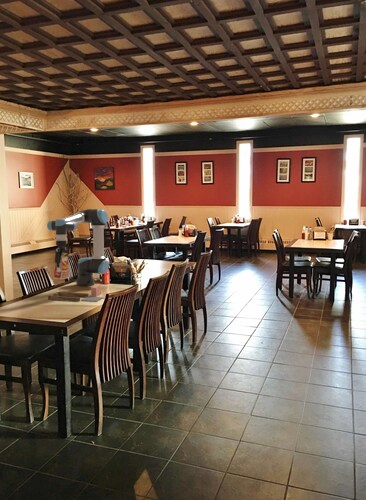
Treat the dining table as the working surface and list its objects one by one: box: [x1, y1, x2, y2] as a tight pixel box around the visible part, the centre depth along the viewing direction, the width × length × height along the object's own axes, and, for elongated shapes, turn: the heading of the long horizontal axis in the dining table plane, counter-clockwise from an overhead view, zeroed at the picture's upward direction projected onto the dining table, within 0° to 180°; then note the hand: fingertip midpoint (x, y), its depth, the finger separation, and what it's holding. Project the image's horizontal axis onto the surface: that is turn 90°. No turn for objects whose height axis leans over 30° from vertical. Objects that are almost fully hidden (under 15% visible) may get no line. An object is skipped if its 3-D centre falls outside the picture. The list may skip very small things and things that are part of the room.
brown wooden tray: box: [47, 291, 89, 302], centre depth 312 cm, size 15×24×2 cm, turn 78°
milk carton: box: [52, 253, 71, 280], centre depth 310 cm, size 9×9×20 cm
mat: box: [80, 295, 104, 303], centre depth 308 cm, size 12×12×1 cm
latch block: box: [90, 284, 103, 297], centre depth 322 cm, size 10×4×7 cm, turn 168°
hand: (62, 270), depth 311 cm, fingers closed on milk carton, 8 cm apart
